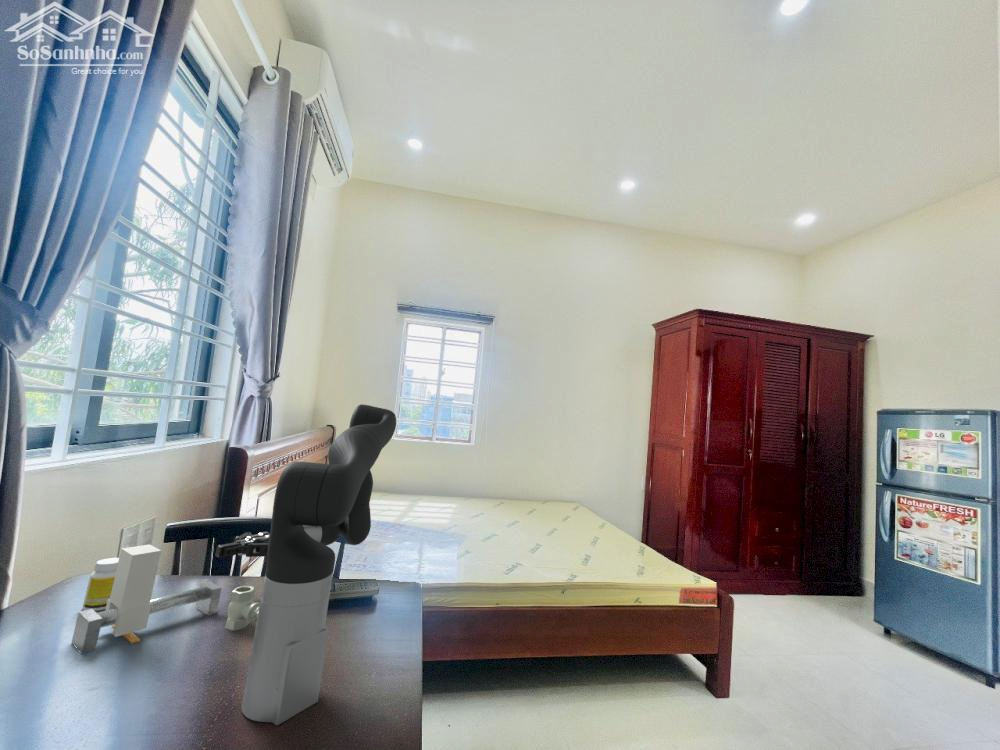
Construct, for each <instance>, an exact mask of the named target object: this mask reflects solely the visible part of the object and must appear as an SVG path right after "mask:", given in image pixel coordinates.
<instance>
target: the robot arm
mask: <svg viewBox="0 0 1000 750" xmlns="http://www.w3.org/2000/svg"><path fill="white" fill-rule="evenodd" d="M348 426H349V427H348V428H346V429H345V430H344V431H343V432H342V433H340V435H338V436H337V437H336V438H334V440H333V442H332V443H331V444H330V446H329V449H328V451H327V456H328V457H327V459H328V463H320V462H308V461H307V462H306V461H293V462H291V463H289V464H288V465H287V466H286V467H285V468H284V469H283V471H282V473H281V474H280V476H279V479H278V481H277V484H276V489H275V494H274V498H273V506H272V507H273V508H272V514H271V524H270V531H262V532H259V533H257V534H252V532H251V531H247V532H244V533H241V535H239V536H237V537H235V538H234V541H233V542H230V543H225V544H224V543H223V544H218V546H216V549H215V553H214V555H215V557H217V558H219V559H222V558H227V557H231V556H232V557H233V556H236V555H237V556H240V557H241V556H245V557H248V558H251V557H253V558H254V557H256V558H257V557H260V558H261V557H266V568H265V572H264V580H263V585H262V591H261V594H260V599H259V600H260V601H259V603H260V605H259V611H258V617H257V618H256V622H255V623H256V624H255V627H254V628H255V629H254V633H253V634H254V635H253V640H252V646H251V651H250V657H249V661H248V668H247V673H246V680H245V684H244V690H243V696H242V700H241V706H240V707H241V712H242V714H243V715H244V716H245V717H246V718H247V719H249V720H251V721H254V722H260V723H272V724H274V725H275V726H279V725H280V724H282V723H284V722H286V721H288V720H290V719H291V718H292V717H294V716H296V715H298V714H299V713H301V712H303V711H305V710H306V709H307V708H310V707H311V706H313V705H314V704H316V703H318V702H319V696H320V690H321V684H322V678H323V677H322V676H323V671H324V663H325V656H326V652H327V644H328V636H329V631H328V629H325V627H326V622H327V621H326V620H327V614H328V608H329V602H330V601H329V600H330V597H331V596H330V594H331V588H332V583H333V575H334V570H335V569H334V568H335V563H336V553H335V551H334V550H333V549H332V548H331V547H329V546H330V545H331V544H334V543H335V542H336V541H337V540H338V538H339V536H340V537H341V538H342V539H343V540H344V541H345V542H346V543H347V544H349V545H351V546H358V545H361V544H362V543H363V542H364V541H365V540H366V539H367V538H368V536H369V534H370V531H371V527H372V518H371V506H370V501H371V496H372V492H373V486H374V479H373V477H374V476H373V474H372V471H371V469H372V467H373V466H374V465H375V463H376V461H378V460H377V459H379V457H380V454H381V451H382V449H384V448H385V447H386V446H387V444H388V443H389V442H390V441H391V439H392V437H393V436H394V433H395V431H396V427H397V416H396V414H395V413H394V411H392V410H390V409H388V408H387V409H386V408H382V407H379V406H378V407H377V406H374V405H373V406H372V405H369V404H359V405H357V406H356V407H355V408H354V410H353V413H352V414H351V418H350V421H349V425H348Z"/></svg>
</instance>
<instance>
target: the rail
mask: <svg viewBox="0 0 1000 750" xmlns="http://www.w3.org/2000/svg"><path fill="white" fill-rule="evenodd" d="M221 594H222V587H221V586H219V585H218V584H216V583H214V582H212V581H210V580H208V581H203V582H200V584H199V587H197V588H192V589H189V590H184V591H181V592H180V591H179V592H177V593H172V594H168V595H164V596H161V597H156V598H151V600H150V602H151V603H152V604H151V609H150V613H149V616H150V615H152V614H156V613H160V612H164V611H168V610H171V609H175V608H179V607H182V606H186V605H190V604H194V603H196V604H195V609H197V610H198V611H199V612H201V613H203V614H204V615H206V616H211V615H214V614H217V612H218V608H219V602H220V597H221ZM117 613H118V608H115V609H111V610H107V611H105V610H102V611H98V612H97V611H94V610H93V609H89V610H80V611H78V615H77V617H76V623H75V626H74V629H73V635H72V638H71V642H72V643H73V644H74V645H75V646H76V647H77V649H78V650H79V651H80V652H81V653H80V652H79V651H78V650H77V649H76V650H77V651H78V652H79V653H80V654H81V655H82V654H83V655H84V654H86V653H89V652H92V651H95V650H96V647H97V644H98V640H99V635H100V631H101V628H106V627H109V625H110V626H111V627H112V628H113V629H114V626H115V621H116V617H117ZM105 626H106V627H105ZM121 636H122V637H123V638H124V639H125V640H126V641H127V642H128V643H129V644H130V645H134V644H136V643H137V644H138V643H141V642H142V640H141V639H140V638H139V637H138V636H137V635H136V634H134V632H131V633H127V634H124V635H121ZM72 643H71V644H72ZM73 644H72V645H73ZM74 645H73V646H74ZM75 646H74V647H75ZM76 647H75V648H76Z"/></svg>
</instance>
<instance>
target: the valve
mask: <svg viewBox="0 0 1000 750" xmlns="http://www.w3.org/2000/svg"><path fill="white" fill-rule="evenodd" d="M255 591H256V587H255V586H252V585H242V586H237V587H236V588H234V589H233V590H232V591H231V597H230V602H229V604H228V607H227V611H226V614H227V619H226V622H225V630H226V629H227V630H229V631H232V632H234V631H239V630H244V629H246V628H247V626H248V625H249V623H250V622H254V621H255V620H257V617H258V611H259V605H260V602H257V601H254V599H253V598H254V597H255V593H256V592H255Z"/></svg>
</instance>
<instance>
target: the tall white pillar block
mask: <svg viewBox="0 0 1000 750" xmlns="http://www.w3.org/2000/svg"><path fill="white" fill-rule="evenodd" d="M161 553H162V550H161V549H159V548H158V547H156V546H154V545H152V544H143V545H137V546H129V547H123V548H121V549H120V553H119V557H118V558H119V561H118V565H117V570H116V574H115V578H114V582H113V587H112V591H111V595H110V599H108V601H107V605H106V609H104V611H107V610H111V609H115V608H118V613H117V617H116V621H115V624H114V625H115V626H114V628H113V631H112V635H113V636H114V637H115V638H116V637H120V636H122V635H124V634H127V633H131V632H132V633H134V632H137V631H141V630H143V629H147V628H148V627H147V625H148V622H149V616H150V615H149V613H150V609H151V604H152V603H151V602H150V600H152V594H153V590H154V586H155V582H156V581H155V580H156V578H157V572H158V567H159V563H160V558H161ZM109 626H111V625H109ZM109 626H108V627H109ZM106 627H107V626H105V627H104V628H106Z"/></svg>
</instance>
